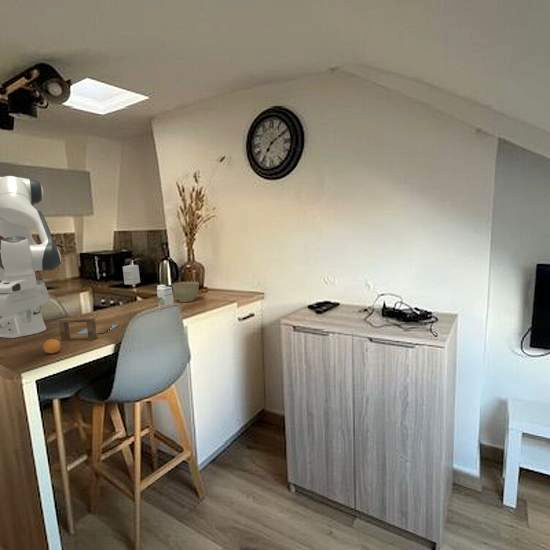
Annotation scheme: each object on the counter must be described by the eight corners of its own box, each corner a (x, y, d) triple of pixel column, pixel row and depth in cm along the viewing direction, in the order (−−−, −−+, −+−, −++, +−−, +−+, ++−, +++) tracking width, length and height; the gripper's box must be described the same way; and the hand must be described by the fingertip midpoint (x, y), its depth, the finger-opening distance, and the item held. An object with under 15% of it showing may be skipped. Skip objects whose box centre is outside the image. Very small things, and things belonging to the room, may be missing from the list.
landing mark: (76, 333, 163) (76, 333, 163) (93, 325, 176) (93, 325, 176) (103, 333, 162) (103, 333, 162) (118, 325, 175) (118, 324, 175)
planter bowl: (197, 303, 216) (195, 285, 214) (170, 304, 216) (168, 286, 214) (202, 297, 232) (201, 280, 230) (177, 298, 232) (175, 281, 230)
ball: (41, 355, 137) (38, 341, 136) (51, 350, 143) (49, 337, 142) (54, 355, 137) (52, 341, 136) (64, 350, 142) (62, 337, 141)
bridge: (93, 340, 153) (90, 319, 152) (61, 340, 155) (58, 319, 153) (97, 338, 156) (94, 317, 155) (66, 338, 158) (63, 317, 156)
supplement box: (131, 282, 304) (129, 264, 302) (140, 282, 301) (138, 264, 299) (124, 284, 296) (122, 266, 293) (133, 284, 293) (131, 266, 290)
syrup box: (174, 313, 194) (172, 286, 192) (165, 315, 189) (163, 288, 187) (167, 312, 197) (165, 285, 195) (158, 314, 192) (156, 287, 190)
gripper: (35, 279, 136) (41, 314, 138) (-13, 289, 116) (-6, 331, 118) (51, 278, 135) (56, 314, 137) (5, 288, 115) (12, 330, 117)
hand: (27, 322), depth 127 cm, fingers closed
